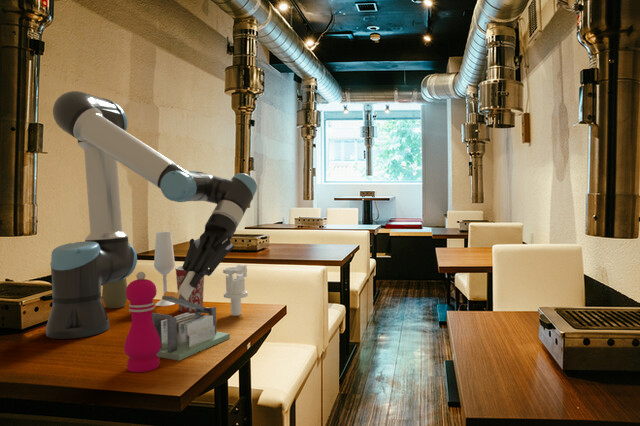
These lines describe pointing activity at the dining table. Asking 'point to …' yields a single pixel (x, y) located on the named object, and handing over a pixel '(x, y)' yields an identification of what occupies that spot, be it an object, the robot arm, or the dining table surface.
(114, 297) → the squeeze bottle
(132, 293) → the pepper mill
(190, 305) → the grey bar
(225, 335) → the mainboard
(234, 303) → the white plastic part
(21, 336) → the dining table surface
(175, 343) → the grey blocky device
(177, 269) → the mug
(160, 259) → the champagne flute
